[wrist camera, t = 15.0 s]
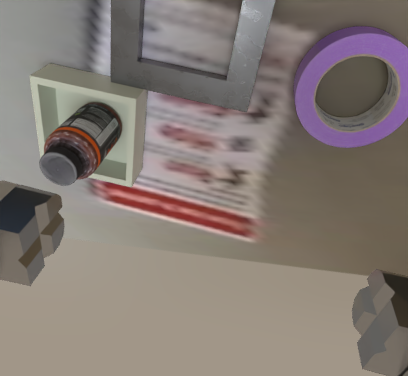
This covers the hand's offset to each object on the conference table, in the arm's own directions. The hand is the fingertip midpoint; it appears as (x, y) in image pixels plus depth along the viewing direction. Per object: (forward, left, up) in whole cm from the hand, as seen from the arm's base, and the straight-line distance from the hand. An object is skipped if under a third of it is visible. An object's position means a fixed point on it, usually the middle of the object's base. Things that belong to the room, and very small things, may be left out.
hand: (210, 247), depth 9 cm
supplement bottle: (+16, +16, -32) cm, 39 cm away
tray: (+17, +16, -33) cm, 40 cm away
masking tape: (-11, +5, -33) cm, 36 cm away
